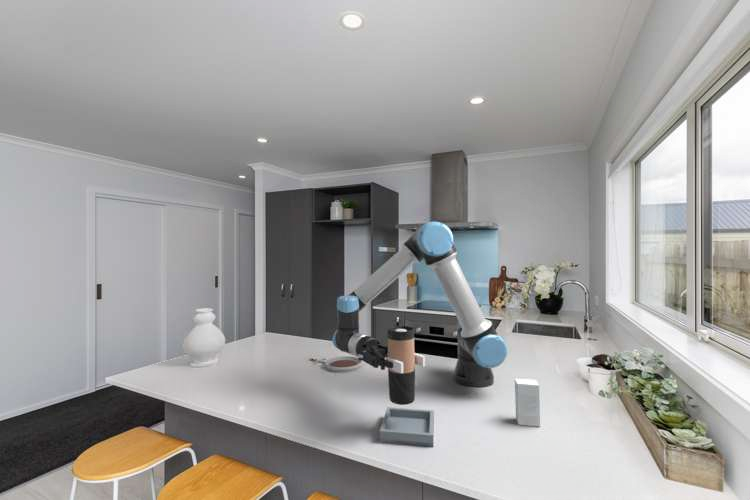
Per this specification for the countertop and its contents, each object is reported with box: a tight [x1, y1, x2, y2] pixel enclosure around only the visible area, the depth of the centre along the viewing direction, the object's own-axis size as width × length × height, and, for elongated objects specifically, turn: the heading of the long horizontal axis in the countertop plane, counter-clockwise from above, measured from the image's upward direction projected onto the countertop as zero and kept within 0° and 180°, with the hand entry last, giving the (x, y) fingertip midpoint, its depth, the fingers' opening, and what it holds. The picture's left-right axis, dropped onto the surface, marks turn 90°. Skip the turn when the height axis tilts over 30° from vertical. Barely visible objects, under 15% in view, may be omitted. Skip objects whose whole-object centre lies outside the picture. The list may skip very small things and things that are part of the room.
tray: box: [379, 406, 435, 448], centre depth 96 cm, size 14×14×3 cm
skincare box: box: [514, 378, 541, 428], centre depth 99 cm, size 6×4×12 cm
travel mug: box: [387, 325, 416, 406], centre depth 96 cm, size 8×8×20 cm
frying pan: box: [308, 355, 364, 374], centre depth 154 cm, size 17×3×28 cm
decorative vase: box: [182, 307, 226, 368], centre depth 159 cm, size 18×18×25 cm
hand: (413, 364), depth 92 cm, fingers closed on travel mug, 7 cm apart
